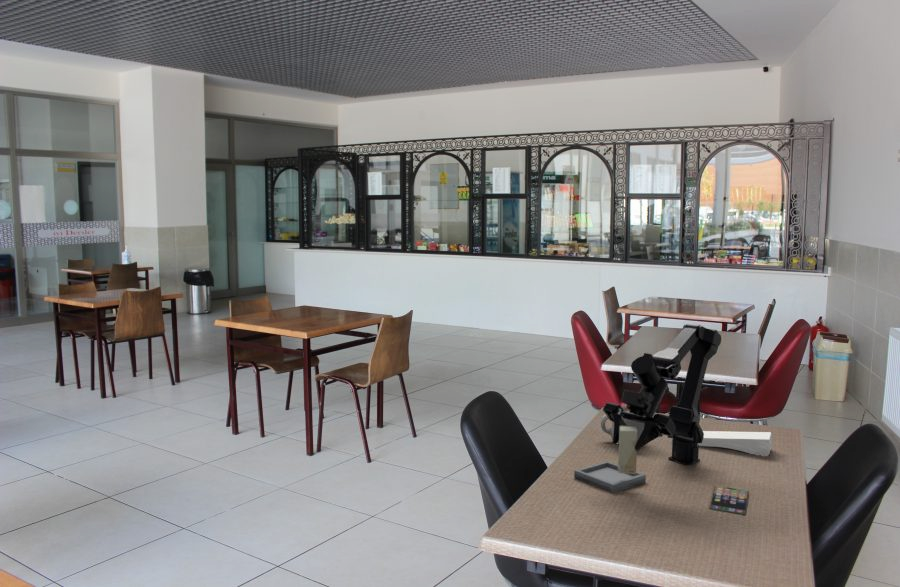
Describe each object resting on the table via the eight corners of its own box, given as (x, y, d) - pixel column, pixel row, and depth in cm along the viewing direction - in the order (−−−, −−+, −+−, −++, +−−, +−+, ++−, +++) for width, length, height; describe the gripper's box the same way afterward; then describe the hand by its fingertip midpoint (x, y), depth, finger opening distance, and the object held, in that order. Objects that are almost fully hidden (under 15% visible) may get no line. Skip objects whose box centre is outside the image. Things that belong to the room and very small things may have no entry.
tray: (574, 477, 190) (574, 470, 190) (606, 468, 198) (606, 461, 198) (612, 492, 180) (613, 485, 180) (645, 482, 188) (645, 474, 187)
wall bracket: (673, 460, 223) (771, 464, 210) (670, 440, 221) (769, 442, 208) (678, 444, 232) (772, 447, 218) (675, 424, 230) (770, 425, 217)
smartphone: (709, 511, 171) (709, 506, 171) (714, 490, 184) (714, 485, 184) (745, 517, 167) (745, 512, 167) (748, 495, 181) (748, 490, 181)
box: (636, 474, 180) (637, 431, 179) (618, 473, 181) (620, 430, 180) (634, 467, 185) (636, 425, 184) (617, 466, 186) (619, 424, 185)
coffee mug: (646, 439, 225) (647, 408, 224) (643, 448, 216) (644, 416, 215) (603, 434, 230) (604, 403, 229) (598, 443, 221) (599, 411, 220)
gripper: (607, 372, 190) (581, 420, 183) (672, 384, 176) (645, 437, 170) (623, 396, 196) (598, 444, 190) (686, 410, 182) (662, 462, 176)
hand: (624, 446), depth 181 cm, fingers closed on box, 6 cm apart
